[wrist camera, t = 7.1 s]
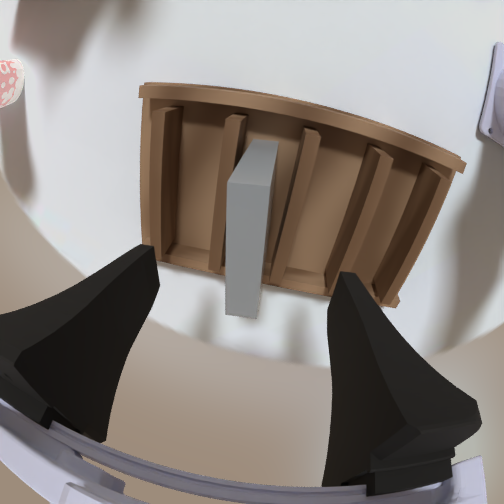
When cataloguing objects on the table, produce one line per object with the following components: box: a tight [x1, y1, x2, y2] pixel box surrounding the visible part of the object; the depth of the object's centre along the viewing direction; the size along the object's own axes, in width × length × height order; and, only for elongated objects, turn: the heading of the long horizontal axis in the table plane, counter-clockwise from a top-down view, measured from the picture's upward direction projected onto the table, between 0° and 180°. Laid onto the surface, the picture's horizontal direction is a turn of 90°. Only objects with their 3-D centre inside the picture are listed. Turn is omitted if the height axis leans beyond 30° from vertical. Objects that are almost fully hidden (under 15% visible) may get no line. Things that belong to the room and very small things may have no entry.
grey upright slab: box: [225, 139, 279, 319], centre depth 16 cm, size 2×7×8 cm, turn 176°
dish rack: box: [139, 82, 467, 308], centre depth 18 cm, size 22×13×4 cm, turn 80°
